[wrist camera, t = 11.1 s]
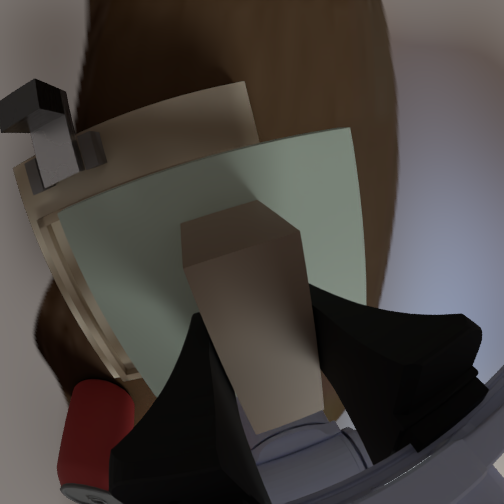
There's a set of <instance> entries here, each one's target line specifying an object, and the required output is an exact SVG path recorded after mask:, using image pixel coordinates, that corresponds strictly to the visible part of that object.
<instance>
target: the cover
mask: <svg viewBox="0 0 504 504" xmlns="http://www.w3.org/2000/svg"><path fill="white" fill-rule="evenodd" d="M57 215H58V217H59V220H60V223H61V225H62V228H63V230H64V233H65V235H66V238H67V240H68V243H69V245H70V248H71V250H72V252H73V254H74V257H75V259H76V261H77V263H78V266H79V268H80V270H81V272H82V274H83V276H84V278H85V280H86V282H87V284H88V286H89V288H90V290H91V292H92V294H93V296H94V298H95V300H96V302H97V304H98V306H99V308H100V309H101V311H102V313H103V315H104V317H105V318H106V320H107V322H108V324H109V325H110V327H111V329H112V331H113V332H114V334H115V336H116V337H117V339H118V341H119V342H120V344H121V346H122V347H123V349H124V350H125V352H126V354H127V355H128V357H129V358H130V360H131V361H132V363H133V364H134V366H135V367H136V369H137V370H138V372H139V373H140V375H141V376H142V378H143V379H144V380H145V382H146V383H147V385H148V386H149V387H150V389H151V390H152V392H153V393H154V394H155V396H156V397H158V396H159V394H160V393H161V391H162V390H163V388H164V386H165V384H166V382H167V381H168V379H169V377H170V375H171V373H172V371H173V369H174V367H175V364H176V362H177V360H178V357H179V355H180V352H181V350H182V347H183V344H184V341H185V338H186V335H187V332H188V329H189V325H190V322H191V317H192V315H193V314H194V313H197V312H200V314H201V316H202V319H203V321H204V323H205V326H206V328H207V331H208V333H209V335H210V338H211V340H212V342H213V345H214V347H215V349H216V351H217V354H218V356H219V358H220V361H221V363H222V365H223V367H224V369H225V372H226V374H227V376H228V378H229V380H230V382H231V385H232V387H233V389H234V391H235V395H236V397H238V399H239V401H240V404H241V406H242V408H243V410H244V412H245V414H246V416H247V418H248V420H249V422H250V424H251V426H252V428H253V430H254V432H255V434H256V435H257V434H260V433H263V432H266V431H269V430H272V429H275V428H278V427H281V426H283V425H286V424H289V423H291V422H294V421H297V420H299V419H302V418H304V417H307V416H309V415H312V414H314V413H316V412H319V411H321V410H323V409H324V403H323V393H322V383H321V374H320V365H319V356H318V348H317V340H316V332H315V324H314V317H313V309H312V302H311V296H310V289H309V284H312V285H314V286H316V287H318V288H320V289H323V290H325V291H327V292H329V293H332V294H334V295H337V296H339V297H342V298H345V299H347V300H350V301H353V302H356V303H359V304H363V305H366V269H365V249H364V234H363V221H362V211H361V201H360V192H359V183H358V176H357V168H356V161H355V155H354V148H353V142H352V137H351V131H350V128H333V129H327V130H321V131H316V132H310V133H305V134H299V135H294V136H289V137H284V138H280V139H275V140H270V141H266V142H262V143H257V144H253V145H249V146H245V147H241V148H237V149H233V150H229V151H225V152H222V153H218V154H214V155H211V156H207V157H204V158H200V159H197V160H194V161H190V162H187V163H184V164H180V165H177V166H174V167H171V168H168V169H165V170H162V171H159V172H156V173H153V174H150V175H147V176H144V177H141V178H139V179H136V180H133V181H130V182H128V183H125V184H122V185H120V186H117V187H115V188H112V189H109V190H107V191H104V192H102V193H99V194H97V195H94V196H92V197H90V198H87V199H85V200H83V201H80V202H78V203H76V204H73V205H71V206H69V207H67V208H65V209H63V210H62V211H60V212H59V213H57Z"/></svg>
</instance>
